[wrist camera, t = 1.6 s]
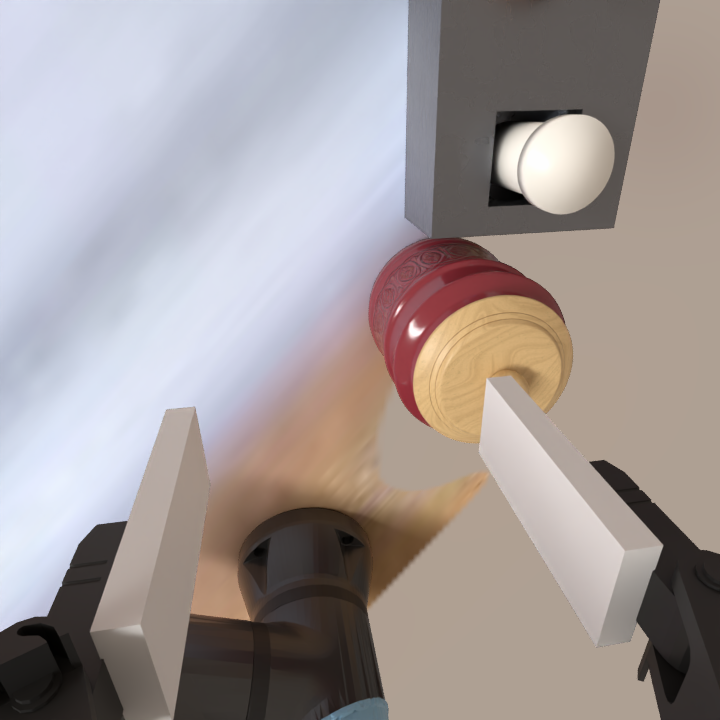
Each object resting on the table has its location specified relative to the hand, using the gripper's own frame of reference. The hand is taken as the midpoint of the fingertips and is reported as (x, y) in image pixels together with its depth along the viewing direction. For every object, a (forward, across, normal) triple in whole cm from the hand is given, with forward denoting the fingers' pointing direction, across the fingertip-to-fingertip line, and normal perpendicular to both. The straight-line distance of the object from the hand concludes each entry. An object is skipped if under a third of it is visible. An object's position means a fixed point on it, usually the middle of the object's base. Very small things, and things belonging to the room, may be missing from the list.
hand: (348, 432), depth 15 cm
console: (+30, -16, -11) cm, 36 cm away
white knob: (+27, -16, -5) cm, 32 cm away
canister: (+31, -12, +8) cm, 34 cm away
